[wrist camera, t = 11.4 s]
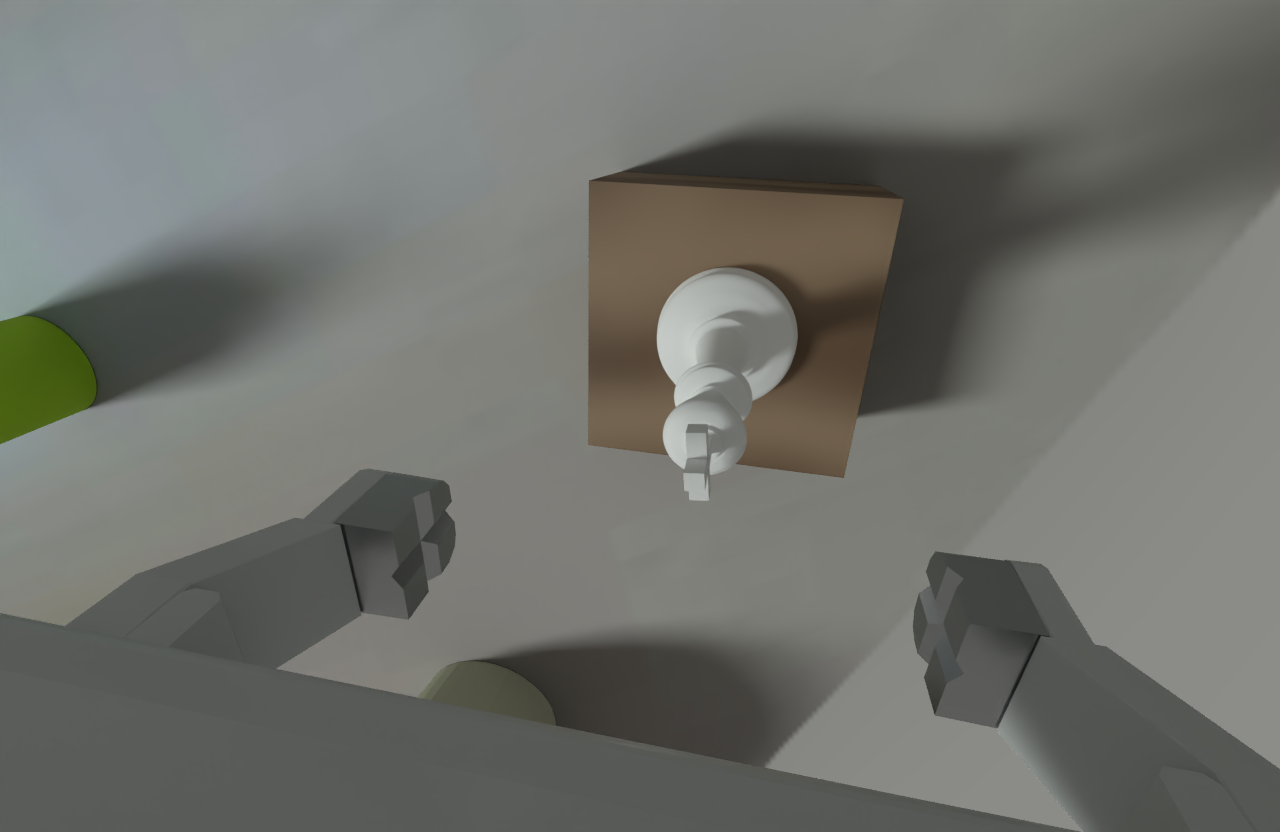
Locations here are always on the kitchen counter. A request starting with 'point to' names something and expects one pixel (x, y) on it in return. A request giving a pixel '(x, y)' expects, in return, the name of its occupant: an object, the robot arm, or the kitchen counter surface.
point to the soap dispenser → (40, 376)
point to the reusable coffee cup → (489, 691)
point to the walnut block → (752, 240)
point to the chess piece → (720, 365)
